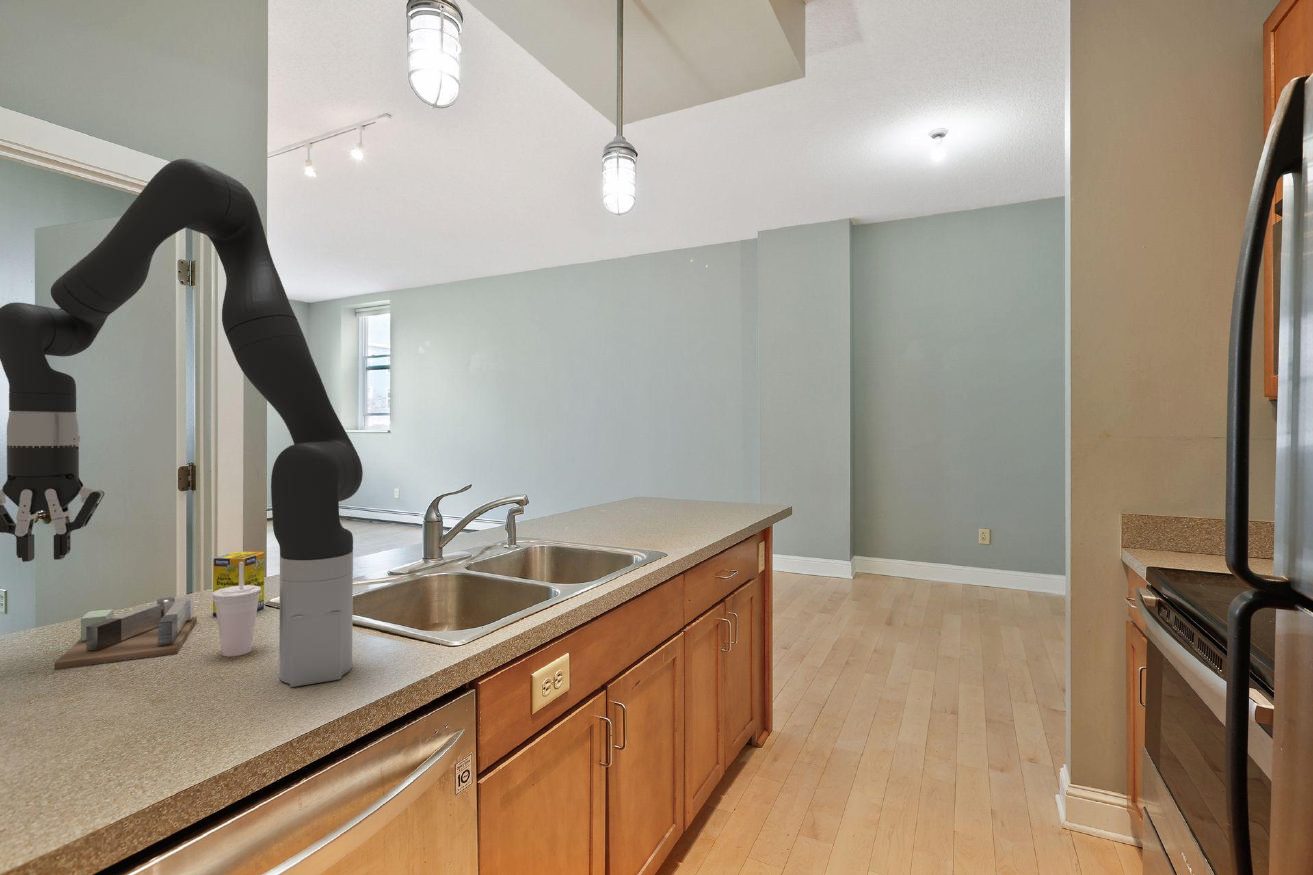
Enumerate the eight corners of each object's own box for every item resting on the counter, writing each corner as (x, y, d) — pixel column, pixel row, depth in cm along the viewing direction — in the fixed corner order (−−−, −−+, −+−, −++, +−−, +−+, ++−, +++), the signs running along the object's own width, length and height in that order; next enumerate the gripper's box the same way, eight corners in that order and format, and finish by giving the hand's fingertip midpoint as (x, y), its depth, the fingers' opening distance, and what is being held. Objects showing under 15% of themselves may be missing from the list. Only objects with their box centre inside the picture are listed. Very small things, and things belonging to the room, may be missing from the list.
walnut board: (176, 653, 95) (176, 647, 95) (54, 669, 88) (54, 662, 88) (196, 621, 110) (196, 615, 110) (93, 632, 103) (93, 627, 103)
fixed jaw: (175, 644, 96) (175, 619, 96) (136, 649, 94) (136, 623, 94) (193, 617, 109) (193, 595, 109) (158, 621, 107) (158, 598, 106)
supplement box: (244, 618, 112) (244, 558, 112) (211, 617, 112) (211, 557, 112) (265, 608, 118) (265, 551, 118) (234, 607, 118) (234, 550, 118)
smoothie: (266, 652, 96) (266, 562, 96) (217, 663, 91) (217, 569, 91) (254, 641, 101) (255, 556, 100) (207, 651, 96) (207, 562, 96)
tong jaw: (97, 650, 93) (97, 626, 92) (86, 650, 93) (86, 626, 93) (161, 625, 104) (161, 604, 104) (151, 625, 104) (151, 603, 104)
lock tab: (105, 637, 98) (105, 615, 98) (80, 640, 96) (80, 618, 96) (113, 630, 101) (113, 609, 101) (89, 632, 100) (89, 611, 100)
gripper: (-37, 443, 84) (-36, 569, 84) (97, 443, 91) (98, 560, 91) (-11, 441, 91) (-10, 558, 91) (113, 441, 97) (113, 550, 98)
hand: (44, 559), depth 91 cm, fingers open, 3 cm apart
